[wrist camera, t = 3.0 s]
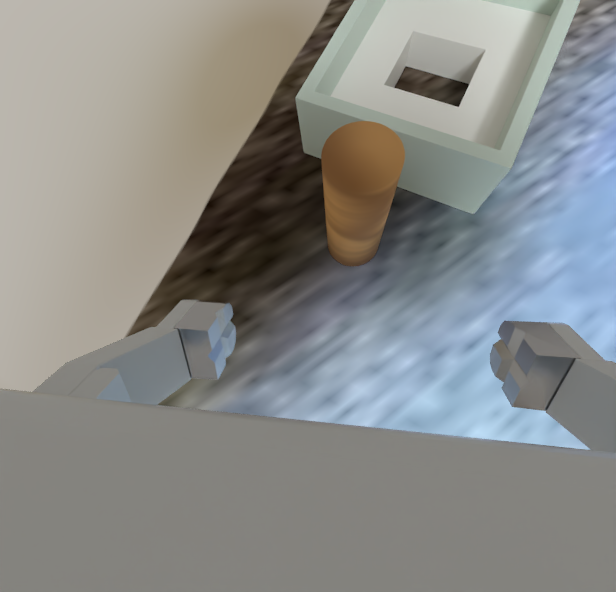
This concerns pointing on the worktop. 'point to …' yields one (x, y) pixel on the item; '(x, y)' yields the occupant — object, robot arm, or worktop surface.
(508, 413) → the worktop surface
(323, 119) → the bore box
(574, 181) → the worktop surface
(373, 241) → the peg
